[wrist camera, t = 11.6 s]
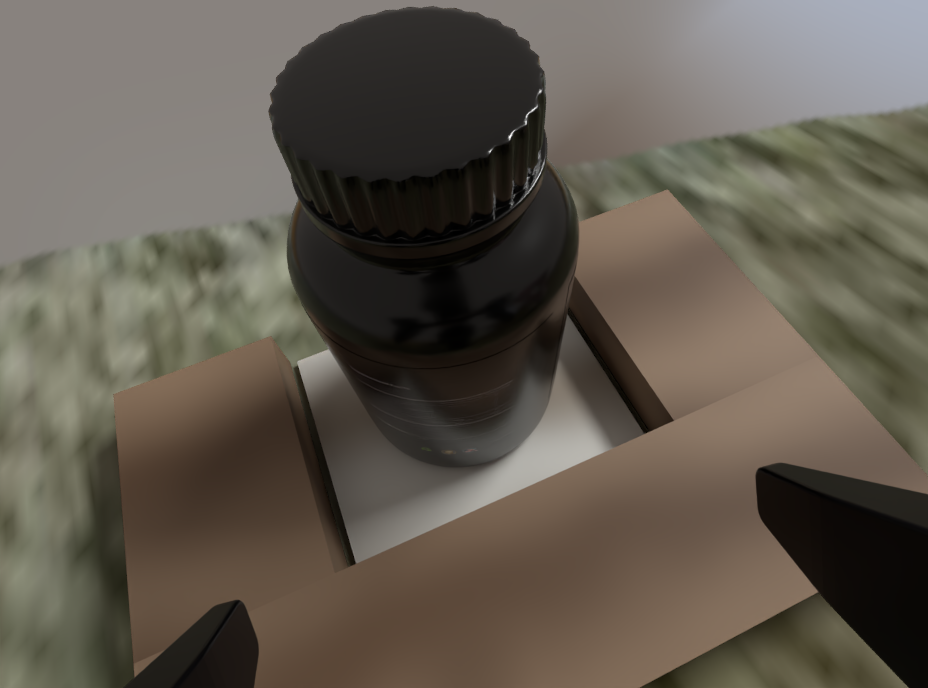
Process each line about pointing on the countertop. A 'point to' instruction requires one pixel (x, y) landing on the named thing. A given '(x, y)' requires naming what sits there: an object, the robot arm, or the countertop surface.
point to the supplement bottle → (430, 225)
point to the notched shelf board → (501, 492)
